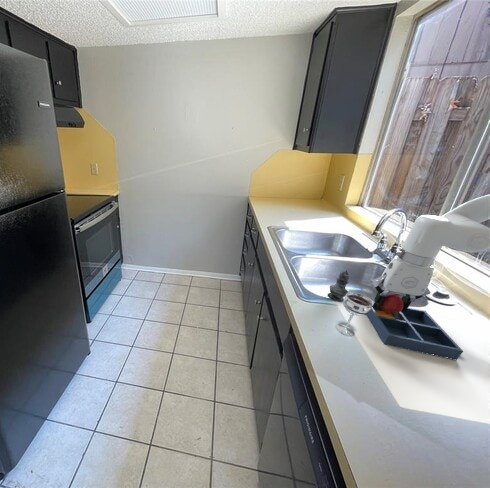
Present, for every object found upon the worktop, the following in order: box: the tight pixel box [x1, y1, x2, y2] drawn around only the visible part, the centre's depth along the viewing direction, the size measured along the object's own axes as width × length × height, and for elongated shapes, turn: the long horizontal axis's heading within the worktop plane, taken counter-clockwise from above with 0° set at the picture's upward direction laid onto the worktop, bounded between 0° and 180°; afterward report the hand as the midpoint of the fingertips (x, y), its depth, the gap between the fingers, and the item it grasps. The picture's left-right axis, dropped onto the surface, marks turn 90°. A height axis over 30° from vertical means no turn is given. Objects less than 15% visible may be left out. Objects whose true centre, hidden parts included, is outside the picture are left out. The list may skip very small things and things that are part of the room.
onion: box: [381, 292, 404, 314], centre depth 82 cm, size 6×6×8 cm
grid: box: [365, 300, 464, 361], centre depth 80 cm, size 17×17×4 cm
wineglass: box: [335, 291, 374, 337], centre depth 77 cm, size 7×7×12 cm
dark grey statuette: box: [327, 269, 351, 303], centre depth 92 cm, size 6×6×12 cm
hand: (389, 305), depth 83 cm, fingers closed on onion, 5 cm apart
